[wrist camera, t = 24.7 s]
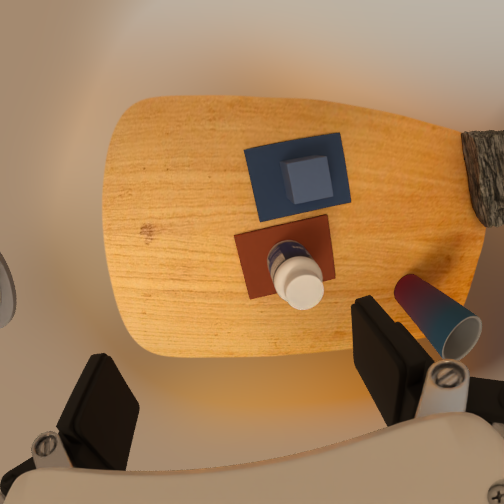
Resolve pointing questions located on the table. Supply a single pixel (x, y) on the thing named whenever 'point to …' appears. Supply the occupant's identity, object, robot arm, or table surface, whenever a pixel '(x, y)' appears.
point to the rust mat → (262, 241)
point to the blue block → (306, 178)
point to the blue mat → (271, 180)
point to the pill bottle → (295, 274)
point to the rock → (486, 174)
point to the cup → (439, 317)
